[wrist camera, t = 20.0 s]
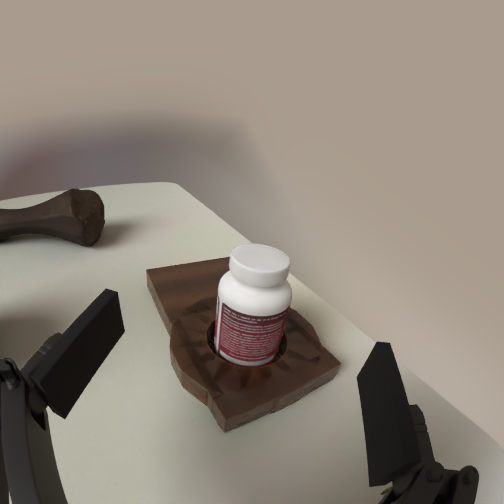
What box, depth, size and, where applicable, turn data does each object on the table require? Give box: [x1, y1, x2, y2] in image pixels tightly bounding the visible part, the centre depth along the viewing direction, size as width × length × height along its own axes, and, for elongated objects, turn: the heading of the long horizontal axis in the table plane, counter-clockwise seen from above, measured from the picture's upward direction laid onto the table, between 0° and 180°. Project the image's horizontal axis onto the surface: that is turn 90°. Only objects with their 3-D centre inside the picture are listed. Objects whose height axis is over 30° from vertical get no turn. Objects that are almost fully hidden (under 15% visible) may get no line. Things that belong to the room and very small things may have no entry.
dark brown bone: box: [0, 189, 105, 246], centre depth 37 cm, size 11×10×28 cm
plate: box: [146, 257, 341, 432], centre depth 28 cm, size 22×14×2 cm, turn 32°
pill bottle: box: [214, 244, 292, 368], centre depth 24 cm, size 6×6×11 cm
